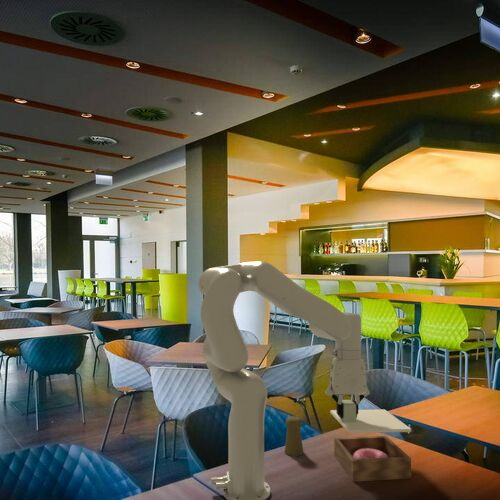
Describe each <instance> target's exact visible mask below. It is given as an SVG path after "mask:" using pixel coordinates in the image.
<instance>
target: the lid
mask: <svg viewBox="0 0 500 500" xmlns="http://www.w3.org/2000/svg"><path fill="white" fill-rule="evenodd" d="M342 404H343V418H340V417H339V416H338V414H337V409H331V410H329V413H330V414H331V415H332V416H333V418H334V419H335V420H337V422H338V423H339V424H340V425H341V426H342V427H343V429H345V431H346V432H347V433H349V434H366V433H367V434H370V433H371V434H373V433H375V434H376V433H411V432H412V428H411V427H409V426H408V425H406V424H405V423H404V422H403V421H401V420H400V419H398V418H397V417H396V416H395V415H393V414H391V412H389V411H387V410H386V409H358V414H357V418H356V404H355V403H354V402H353V400H351V399H342Z"/></svg>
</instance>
